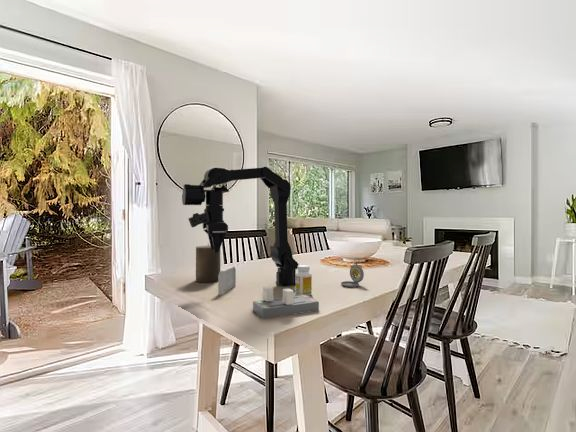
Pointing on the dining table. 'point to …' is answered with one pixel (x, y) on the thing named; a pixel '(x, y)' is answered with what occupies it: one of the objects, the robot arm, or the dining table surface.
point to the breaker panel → (285, 306)
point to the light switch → (226, 280)
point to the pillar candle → (207, 264)
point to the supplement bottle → (303, 281)
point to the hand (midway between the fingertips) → (214, 251)
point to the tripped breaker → (287, 296)
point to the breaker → (268, 293)
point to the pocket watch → (354, 272)
